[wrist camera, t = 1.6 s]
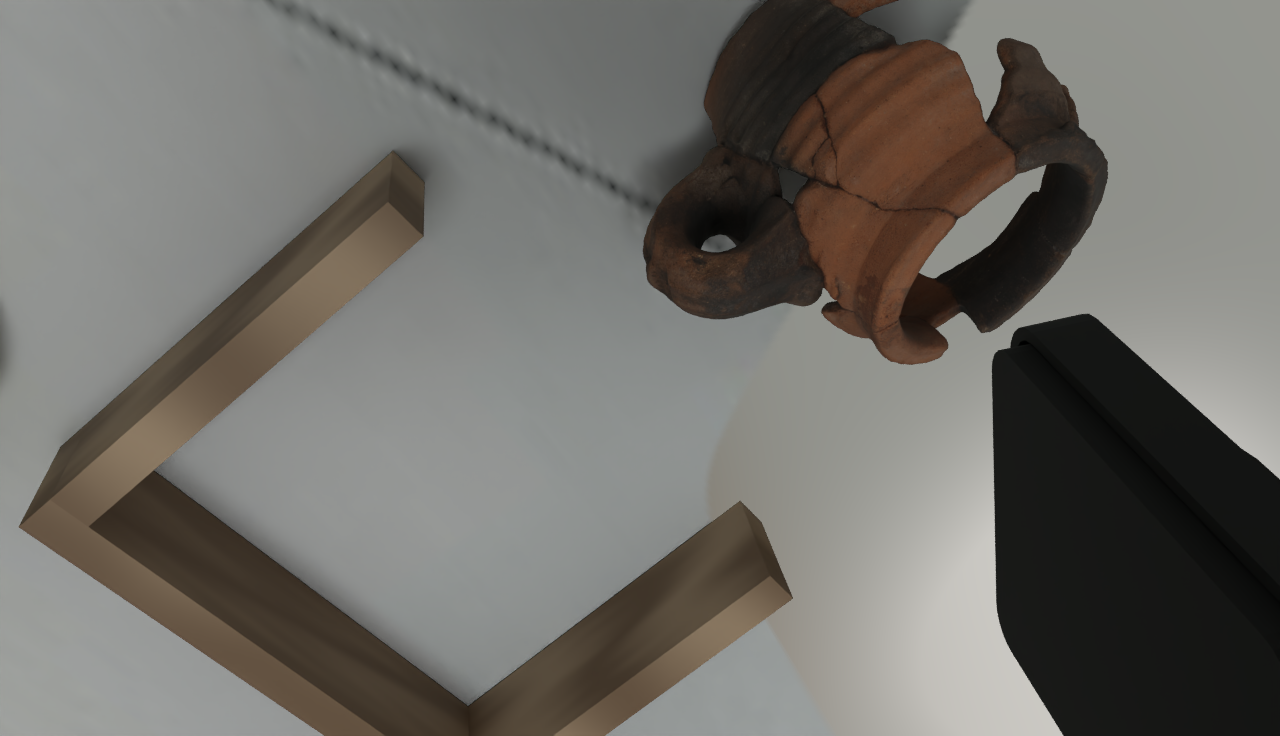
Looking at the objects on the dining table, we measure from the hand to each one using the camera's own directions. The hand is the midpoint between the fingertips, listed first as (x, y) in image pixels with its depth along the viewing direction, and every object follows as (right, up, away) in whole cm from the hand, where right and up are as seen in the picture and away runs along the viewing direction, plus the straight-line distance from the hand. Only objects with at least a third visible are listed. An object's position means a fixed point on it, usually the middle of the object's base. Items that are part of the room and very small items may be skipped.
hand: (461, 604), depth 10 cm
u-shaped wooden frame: (-5, -2, +28) cm, 28 cm away
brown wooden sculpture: (+7, +8, +25) cm, 27 cm away
